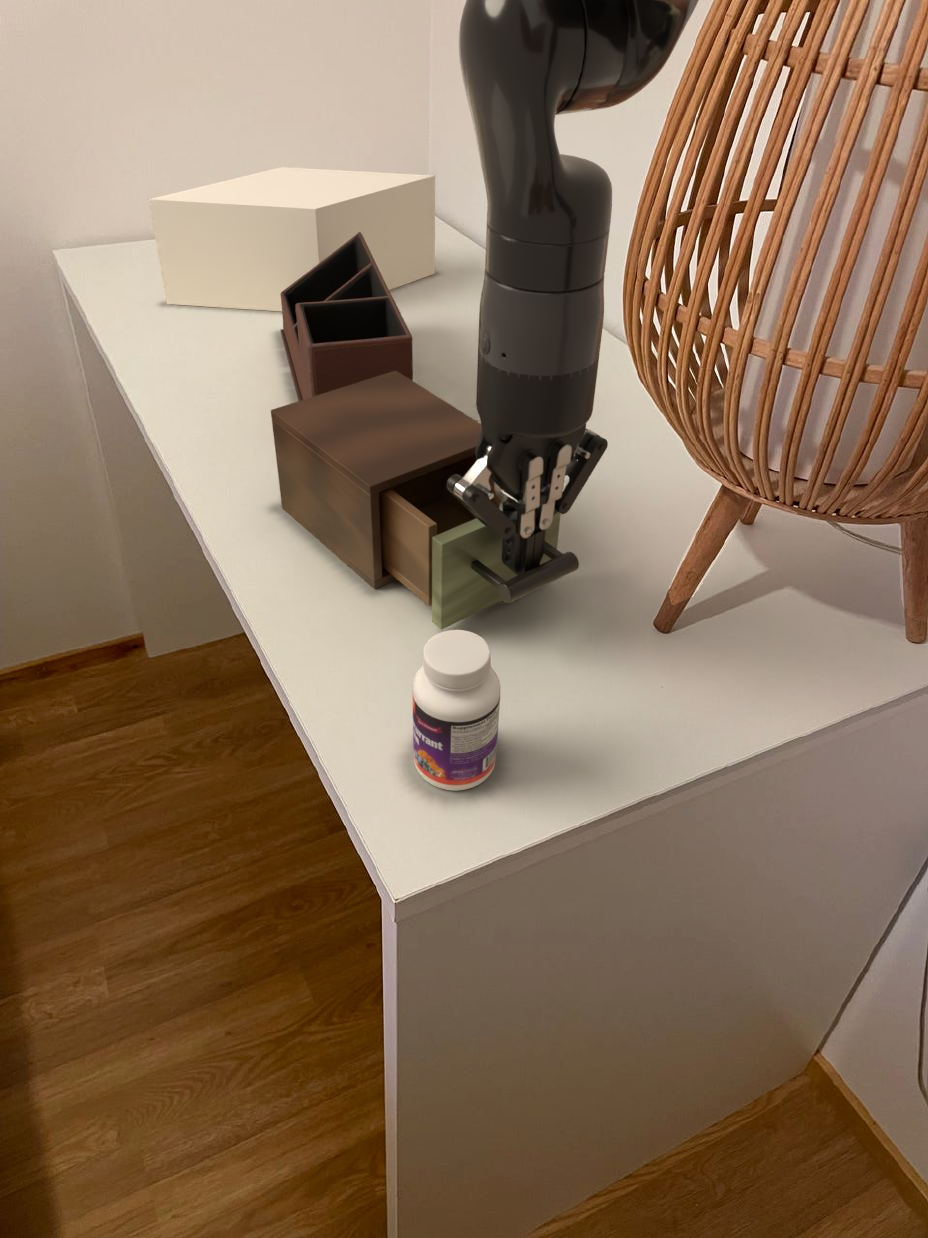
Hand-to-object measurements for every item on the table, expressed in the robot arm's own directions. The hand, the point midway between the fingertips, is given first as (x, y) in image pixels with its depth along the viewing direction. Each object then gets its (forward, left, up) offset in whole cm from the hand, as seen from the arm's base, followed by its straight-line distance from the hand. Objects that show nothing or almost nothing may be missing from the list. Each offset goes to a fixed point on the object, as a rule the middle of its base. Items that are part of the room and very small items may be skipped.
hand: (522, 568), depth 71 cm
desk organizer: (+34, -26, -6) cm, 43 cm away
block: (+54, -45, -6) cm, 71 cm away
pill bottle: (-3, +15, -6) cm, 16 cm away
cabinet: (+16, -6, -5) cm, 18 cm away
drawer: (+6, -2, -4) cm, 8 cm away
